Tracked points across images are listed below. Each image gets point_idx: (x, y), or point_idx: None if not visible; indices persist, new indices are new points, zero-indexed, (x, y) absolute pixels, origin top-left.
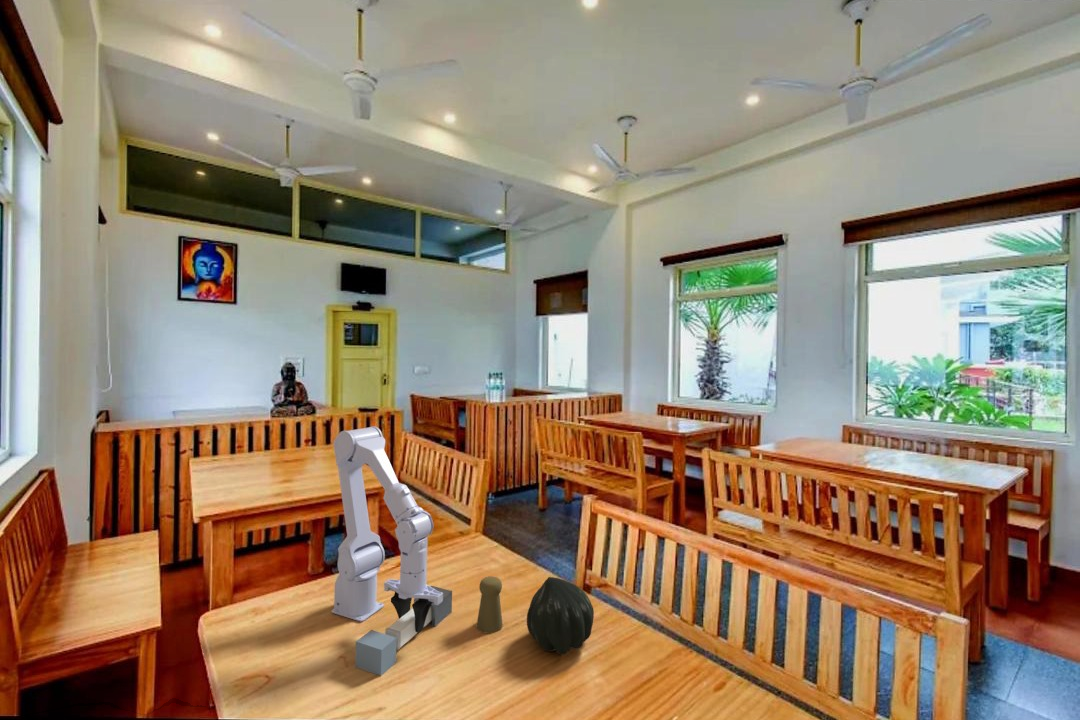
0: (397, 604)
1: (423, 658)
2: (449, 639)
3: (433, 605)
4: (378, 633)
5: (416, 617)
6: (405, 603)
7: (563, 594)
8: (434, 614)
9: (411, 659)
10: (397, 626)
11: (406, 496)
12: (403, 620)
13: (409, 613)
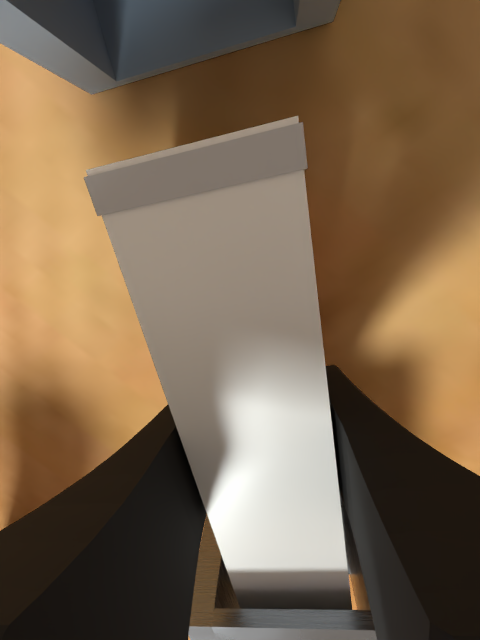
0: (441, 552)
1: (21, 252)
2: (80, 434)
3: (205, 612)
4: None
5: (133, 461)
6: (377, 590)
7: None
8: (206, 538)
9: (57, 198)
10: (220, 269)
11: None
12: (263, 383)
13: (307, 481)
